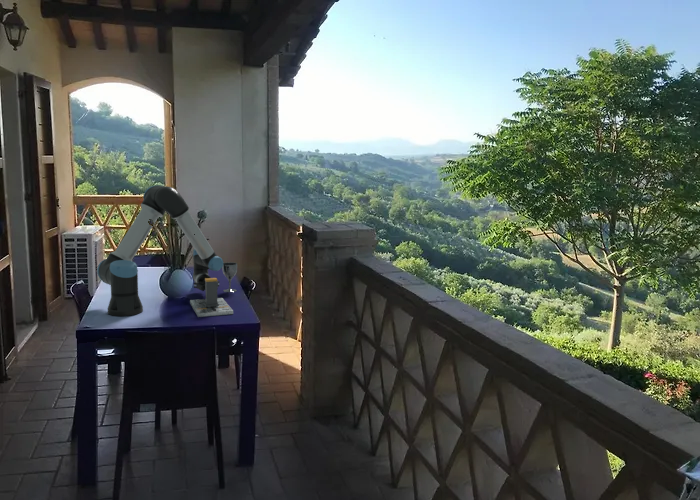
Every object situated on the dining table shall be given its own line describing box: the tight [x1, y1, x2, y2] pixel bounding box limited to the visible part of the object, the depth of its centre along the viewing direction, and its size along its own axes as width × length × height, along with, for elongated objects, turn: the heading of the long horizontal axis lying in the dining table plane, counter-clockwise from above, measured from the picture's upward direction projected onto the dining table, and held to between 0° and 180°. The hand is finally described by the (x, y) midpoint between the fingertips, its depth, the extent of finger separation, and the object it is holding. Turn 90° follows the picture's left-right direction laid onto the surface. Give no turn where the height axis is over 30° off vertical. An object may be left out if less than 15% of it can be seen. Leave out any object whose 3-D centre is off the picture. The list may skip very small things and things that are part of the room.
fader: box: [204, 277, 219, 307], centre depth 270 cm, size 6×5×13 cm
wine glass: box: [221, 261, 238, 293], centre depth 309 cm, size 8×8×15 cm
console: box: [189, 297, 234, 318], centre depth 273 cm, size 16×26×2 cm, turn 23°
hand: (212, 291), depth 272 cm, fingers closed
